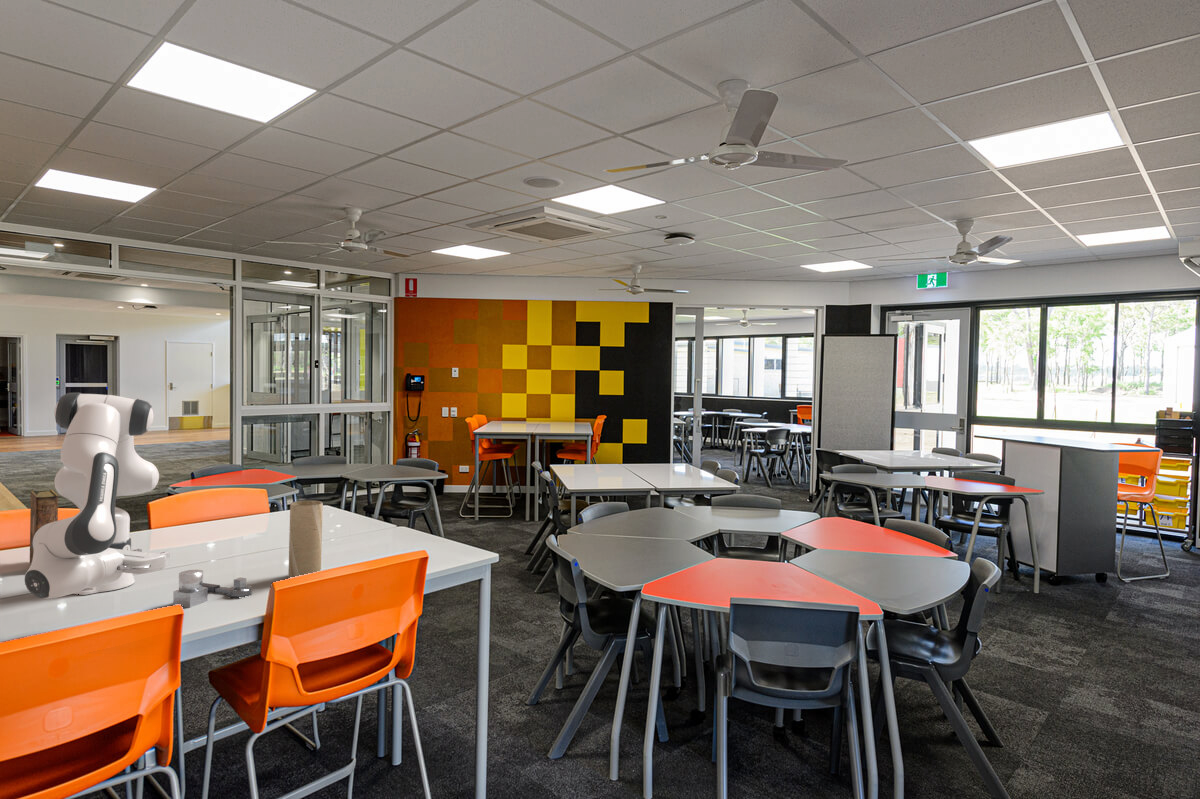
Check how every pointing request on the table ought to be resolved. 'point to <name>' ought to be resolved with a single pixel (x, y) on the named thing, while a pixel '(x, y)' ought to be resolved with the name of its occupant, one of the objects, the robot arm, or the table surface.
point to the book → (42, 512)
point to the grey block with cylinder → (190, 589)
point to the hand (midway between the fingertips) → (153, 553)
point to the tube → (305, 537)
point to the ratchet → (232, 588)
